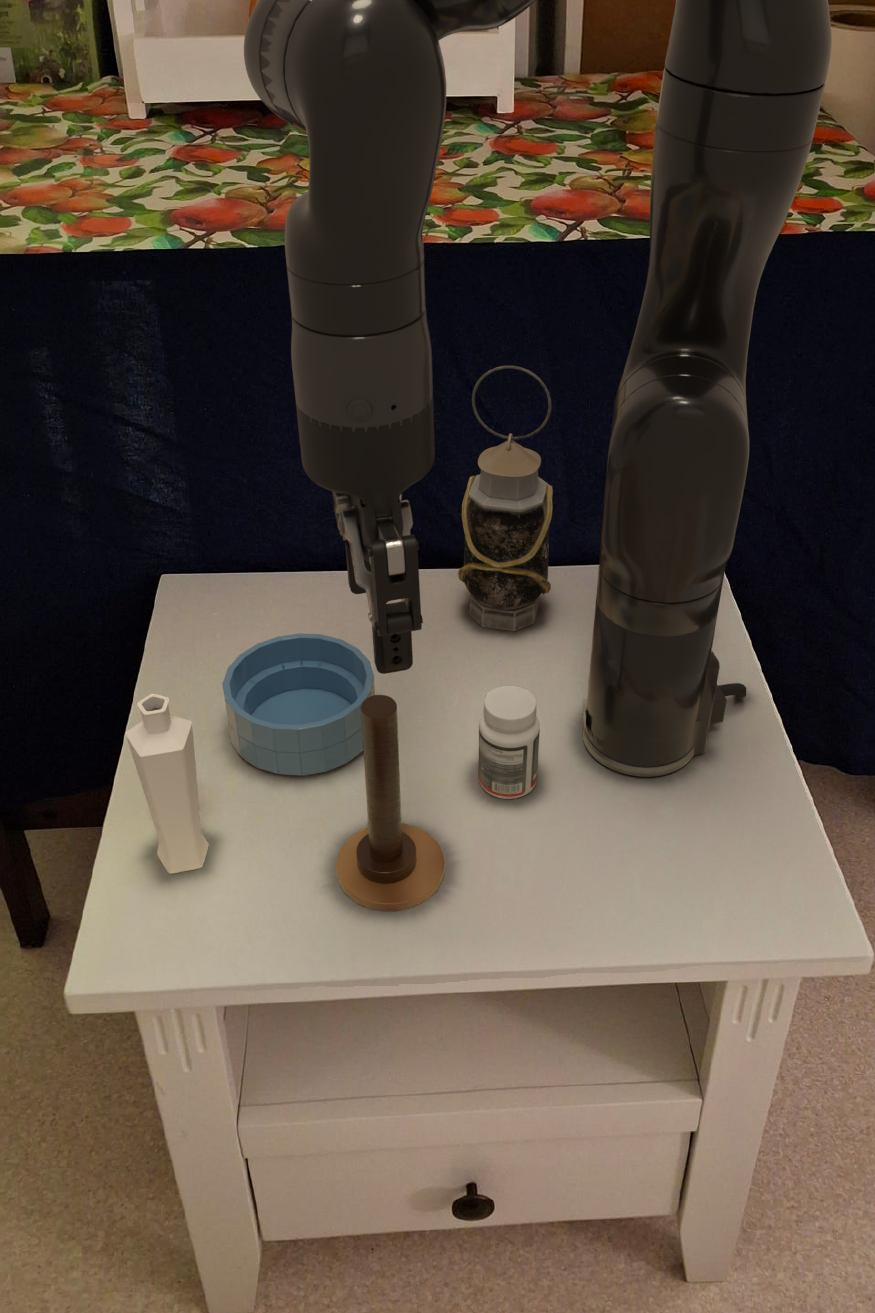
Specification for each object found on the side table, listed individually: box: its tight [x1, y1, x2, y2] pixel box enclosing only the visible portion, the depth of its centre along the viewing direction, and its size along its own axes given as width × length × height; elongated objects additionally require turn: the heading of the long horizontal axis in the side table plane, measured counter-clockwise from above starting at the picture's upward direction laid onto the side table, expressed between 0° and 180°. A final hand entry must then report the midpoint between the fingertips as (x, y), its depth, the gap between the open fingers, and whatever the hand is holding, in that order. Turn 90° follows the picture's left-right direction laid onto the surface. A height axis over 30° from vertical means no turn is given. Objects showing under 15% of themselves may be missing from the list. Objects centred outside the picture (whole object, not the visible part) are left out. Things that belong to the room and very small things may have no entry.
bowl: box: [222, 632, 376, 776], centre depth 101 cm, size 12×12×6 cm
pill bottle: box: [477, 685, 541, 800], centre depth 95 cm, size 5×5×8 cm
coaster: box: [335, 823, 446, 912], centre depth 90 cm, size 8×8×1 cm
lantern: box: [457, 365, 554, 632], centre depth 108 cm, size 9×8×25 cm
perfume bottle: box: [124, 693, 210, 874], centre depth 87 cm, size 5×4×15 cm
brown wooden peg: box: [356, 694, 416, 884], centre depth 85 cm, size 4×4×15 cm
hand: (379, 627), depth 76 cm, fingers open, 8 cm apart
